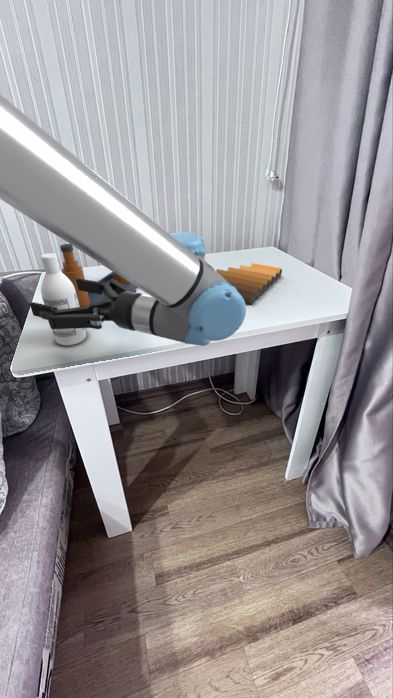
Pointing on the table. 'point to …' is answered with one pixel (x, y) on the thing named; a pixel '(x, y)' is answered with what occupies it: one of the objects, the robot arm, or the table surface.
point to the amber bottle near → (74, 273)
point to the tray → (98, 297)
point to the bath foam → (60, 298)
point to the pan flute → (251, 280)
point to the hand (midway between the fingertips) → (57, 295)
